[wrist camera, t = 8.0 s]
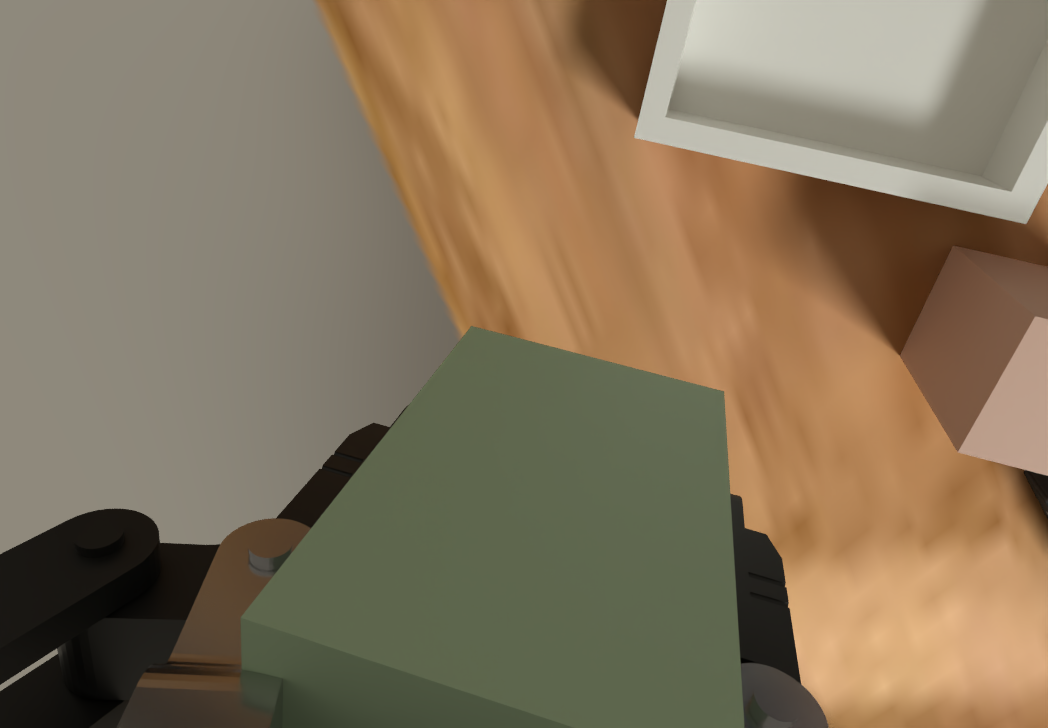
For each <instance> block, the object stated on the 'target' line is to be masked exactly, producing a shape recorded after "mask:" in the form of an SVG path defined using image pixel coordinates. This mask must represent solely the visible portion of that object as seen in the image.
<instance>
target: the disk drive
mask: <svg viewBox="0 0 1048 728" xmlns="http://www.w3.org/2000/svg"><path fill="white" fill-rule="evenodd" d="M1024 474H1025V476H1026V478H1027V480H1028V482H1029V483H1030V485H1031V487H1032V490H1033V491H1034V493H1035V496H1036V497H1037V499H1038V501H1039V502H1040V505H1041V507H1042V509H1043V511H1044V513H1045V515H1046V516H1047V518H1048V476H1046V475H1043V474H1039V473H1035V472H1031V471H1027V470H1025V471H1024Z"/></svg>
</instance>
